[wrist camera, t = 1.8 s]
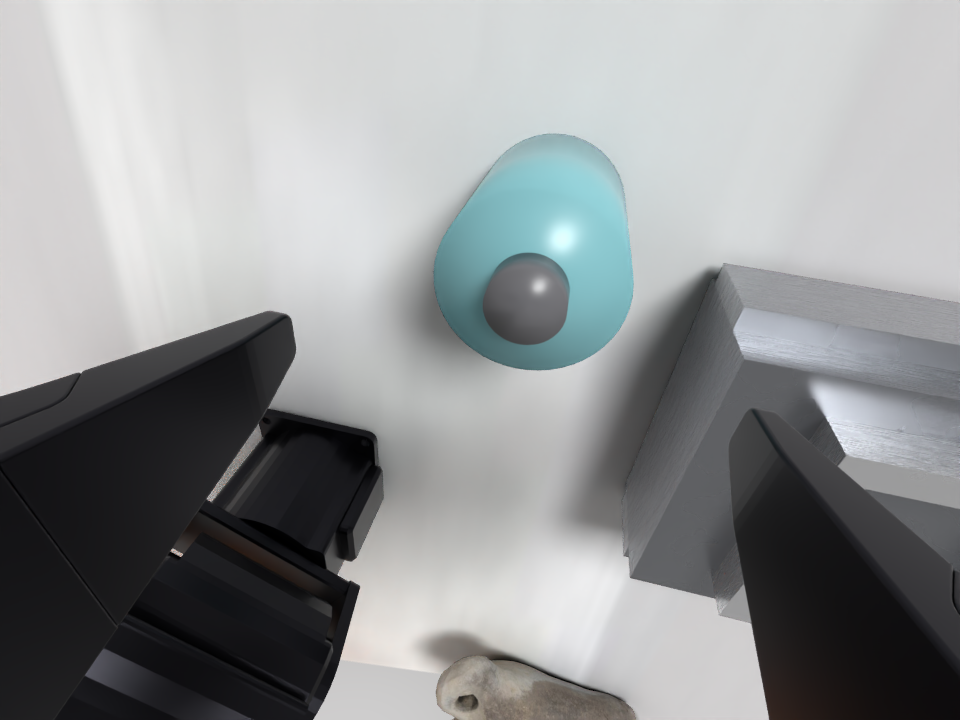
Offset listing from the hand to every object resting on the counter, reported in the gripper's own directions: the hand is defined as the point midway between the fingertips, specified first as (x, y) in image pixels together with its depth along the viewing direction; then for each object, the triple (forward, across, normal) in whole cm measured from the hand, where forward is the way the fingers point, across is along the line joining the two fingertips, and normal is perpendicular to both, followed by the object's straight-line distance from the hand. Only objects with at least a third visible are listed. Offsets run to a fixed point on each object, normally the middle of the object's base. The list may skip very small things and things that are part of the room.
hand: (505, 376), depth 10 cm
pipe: (+10, -6, +38) cm, 39 cm away
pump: (+10, 0, 0) cm, 10 cm away
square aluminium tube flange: (+9, -13, +7) cm, 17 cm away
